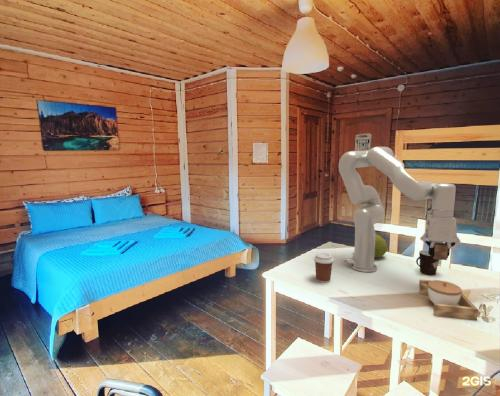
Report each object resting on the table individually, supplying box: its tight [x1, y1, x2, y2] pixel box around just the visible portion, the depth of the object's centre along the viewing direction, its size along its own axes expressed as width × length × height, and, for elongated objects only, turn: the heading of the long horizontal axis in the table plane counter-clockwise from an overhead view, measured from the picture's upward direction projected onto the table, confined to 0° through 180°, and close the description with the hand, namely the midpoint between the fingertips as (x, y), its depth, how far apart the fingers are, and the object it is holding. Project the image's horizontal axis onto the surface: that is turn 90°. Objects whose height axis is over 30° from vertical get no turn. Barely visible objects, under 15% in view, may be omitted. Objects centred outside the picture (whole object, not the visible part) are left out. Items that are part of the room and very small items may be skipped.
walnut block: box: [433, 242, 448, 261], centre depth 120 cm, size 4×4×6 cm
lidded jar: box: [427, 279, 463, 306], centre depth 111 cm, size 11×11×9 cm
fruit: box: [374, 233, 388, 259], centre depth 163 cm, size 16×14×15 cm
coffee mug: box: [415, 249, 440, 276], centre depth 141 cm, size 12×9×10 cm
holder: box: [418, 279, 479, 321], centre depth 115 cm, size 13×26×4 cm, turn 166°
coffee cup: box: [313, 252, 335, 284], centre depth 134 cm, size 9×9×12 cm
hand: (438, 256), depth 120 cm, fingers closed on walnut block, 4 cm apart
